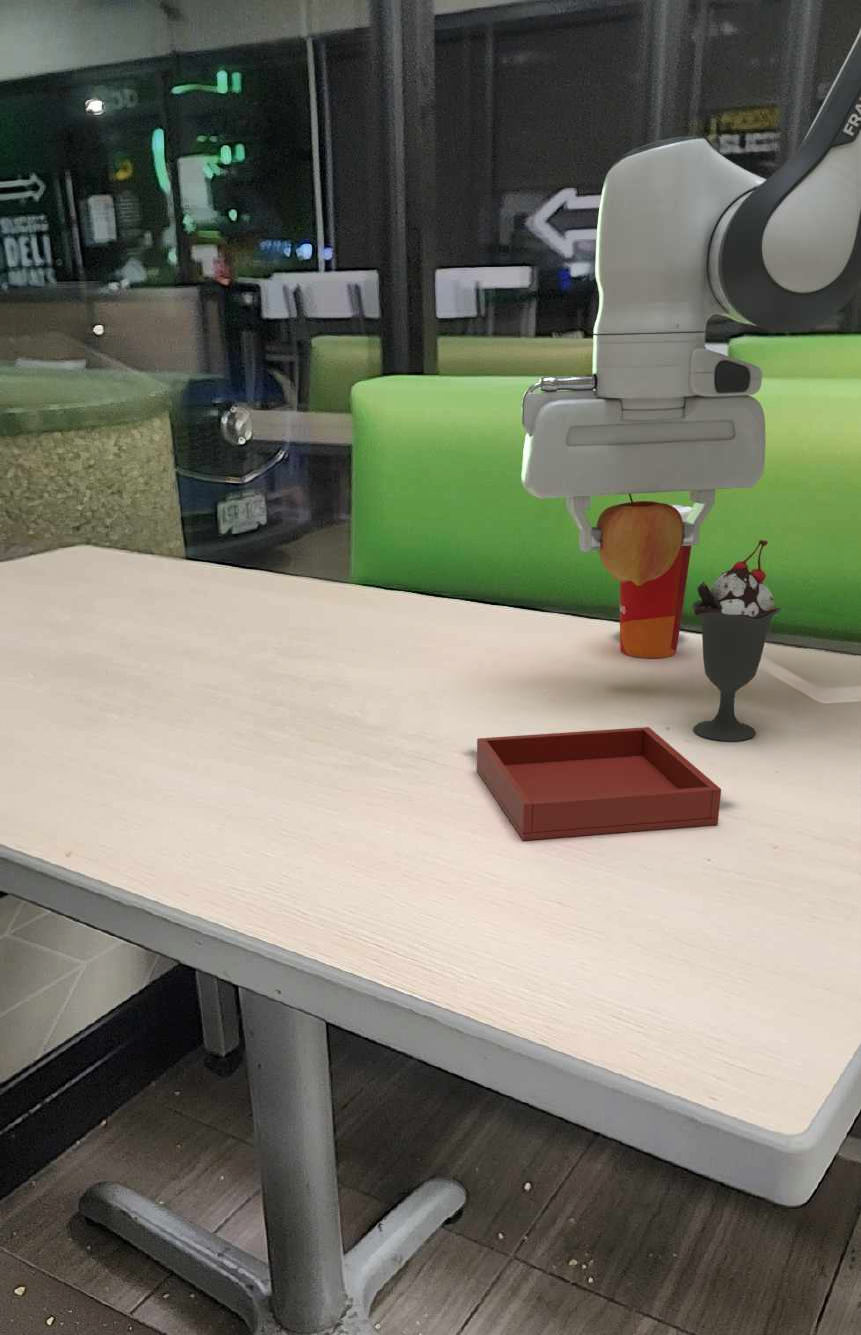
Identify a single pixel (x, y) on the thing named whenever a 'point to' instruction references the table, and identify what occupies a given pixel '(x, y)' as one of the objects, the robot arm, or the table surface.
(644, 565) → the apple
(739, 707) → the table surface
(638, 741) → the red tray
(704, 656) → the sundae
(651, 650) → the paper cup
